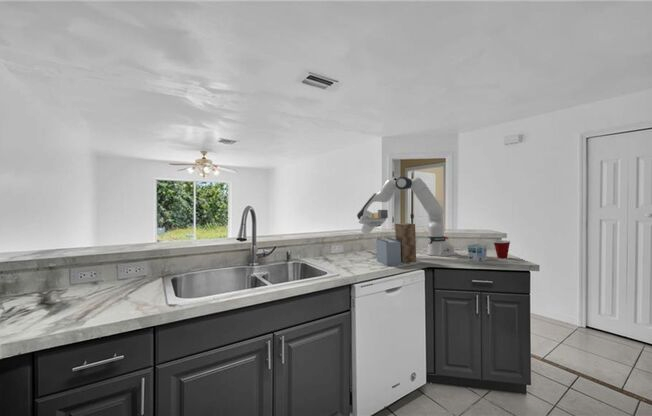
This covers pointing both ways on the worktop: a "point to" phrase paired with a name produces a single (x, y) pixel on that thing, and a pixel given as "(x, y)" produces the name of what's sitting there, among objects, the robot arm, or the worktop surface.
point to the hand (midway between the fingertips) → (375, 214)
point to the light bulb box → (477, 252)
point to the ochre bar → (381, 214)
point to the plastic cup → (502, 248)
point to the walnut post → (406, 241)
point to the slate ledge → (388, 251)
